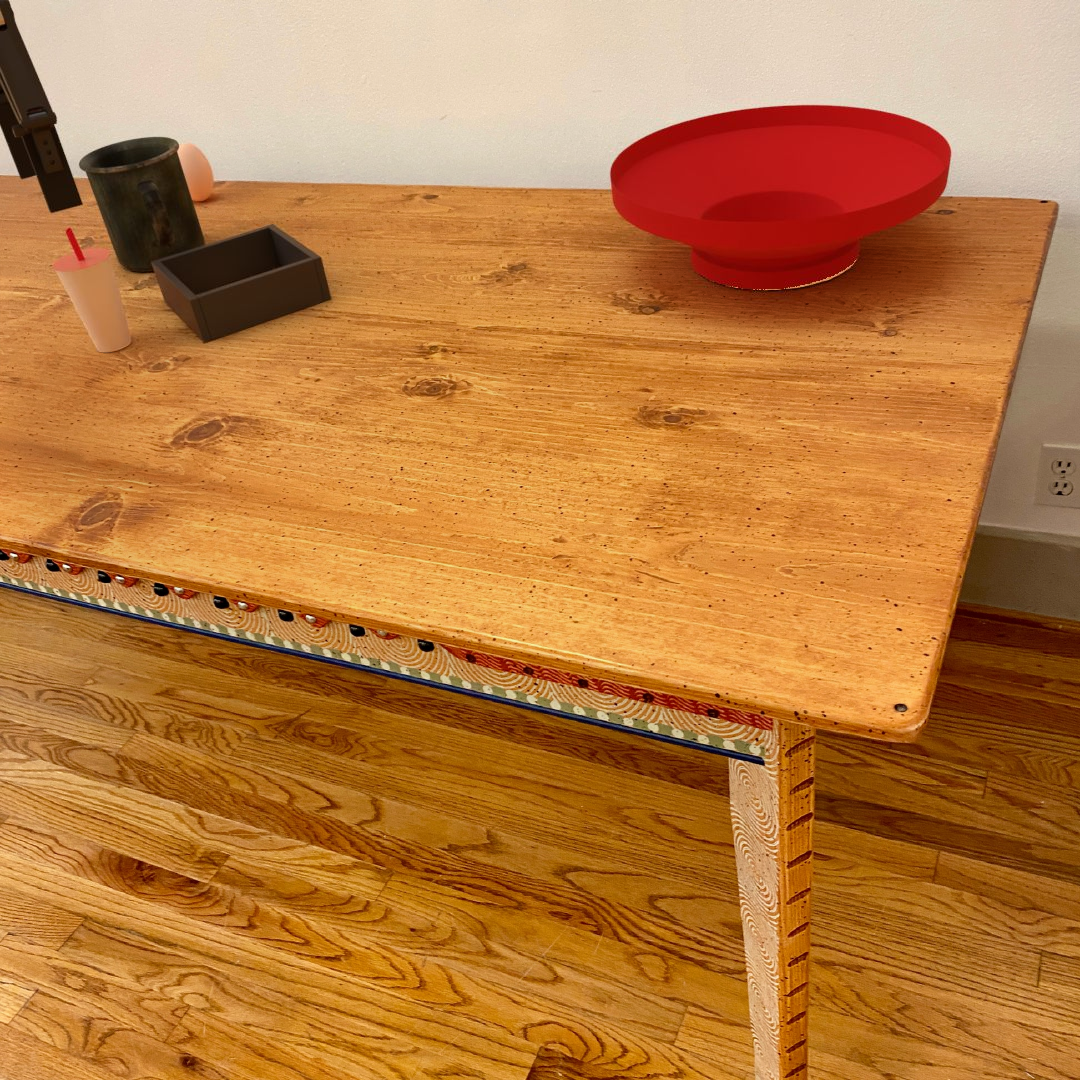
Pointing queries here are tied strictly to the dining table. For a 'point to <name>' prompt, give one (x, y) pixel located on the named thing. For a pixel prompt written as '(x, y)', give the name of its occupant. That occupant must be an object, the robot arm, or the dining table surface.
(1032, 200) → the dining table surface
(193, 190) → the egg
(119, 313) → the cup
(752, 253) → the bowl
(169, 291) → the dark brown open box
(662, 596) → the dining table surface
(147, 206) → the mug
